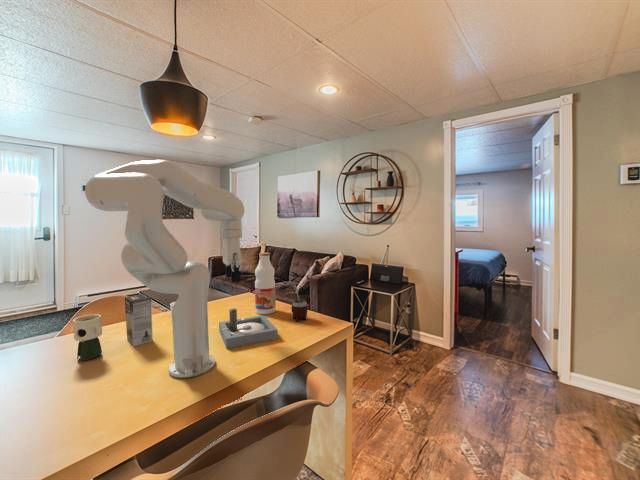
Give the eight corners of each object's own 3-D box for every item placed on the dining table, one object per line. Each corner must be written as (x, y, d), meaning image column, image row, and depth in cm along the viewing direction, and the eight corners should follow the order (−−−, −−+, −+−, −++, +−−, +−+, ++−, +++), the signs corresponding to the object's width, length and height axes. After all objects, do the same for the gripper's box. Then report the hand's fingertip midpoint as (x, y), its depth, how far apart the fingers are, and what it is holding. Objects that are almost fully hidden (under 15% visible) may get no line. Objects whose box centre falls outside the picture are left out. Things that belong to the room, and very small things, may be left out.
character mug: (66, 359, 92) (63, 319, 91) (90, 350, 99) (88, 312, 98) (89, 365, 88) (86, 323, 88) (113, 355, 95) (110, 316, 94)
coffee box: (126, 339, 107) (123, 296, 106) (145, 334, 112) (143, 293, 111) (133, 347, 101) (131, 301, 100) (154, 341, 106) (151, 297, 105)
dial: (259, 323, 119) (258, 301, 119) (268, 334, 108) (267, 309, 107) (227, 328, 114) (226, 305, 113) (233, 340, 102) (232, 315, 102)
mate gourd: (304, 323, 123) (303, 287, 122) (287, 321, 126) (286, 286, 125) (310, 317, 130) (310, 284, 129) (294, 315, 133) (293, 283, 132)
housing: (277, 338, 107) (277, 329, 107) (226, 349, 99) (226, 338, 99) (264, 323, 123) (263, 314, 123) (219, 331, 115) (218, 321, 115)
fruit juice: (279, 311, 139) (278, 252, 137) (264, 316, 132) (263, 254, 130) (266, 307, 145) (265, 251, 143) (251, 312, 138) (249, 253, 136)
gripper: (216, 233, 115) (218, 276, 116) (225, 235, 99) (227, 285, 101) (236, 232, 118) (237, 274, 120) (247, 234, 103) (249, 282, 104)
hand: (233, 279), depth 110 cm, fingers open, 9 cm apart
